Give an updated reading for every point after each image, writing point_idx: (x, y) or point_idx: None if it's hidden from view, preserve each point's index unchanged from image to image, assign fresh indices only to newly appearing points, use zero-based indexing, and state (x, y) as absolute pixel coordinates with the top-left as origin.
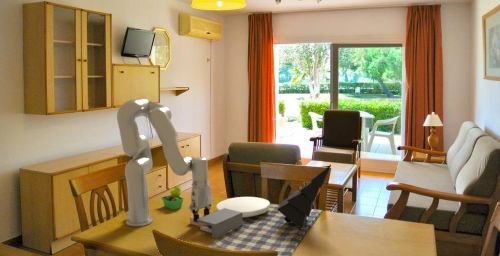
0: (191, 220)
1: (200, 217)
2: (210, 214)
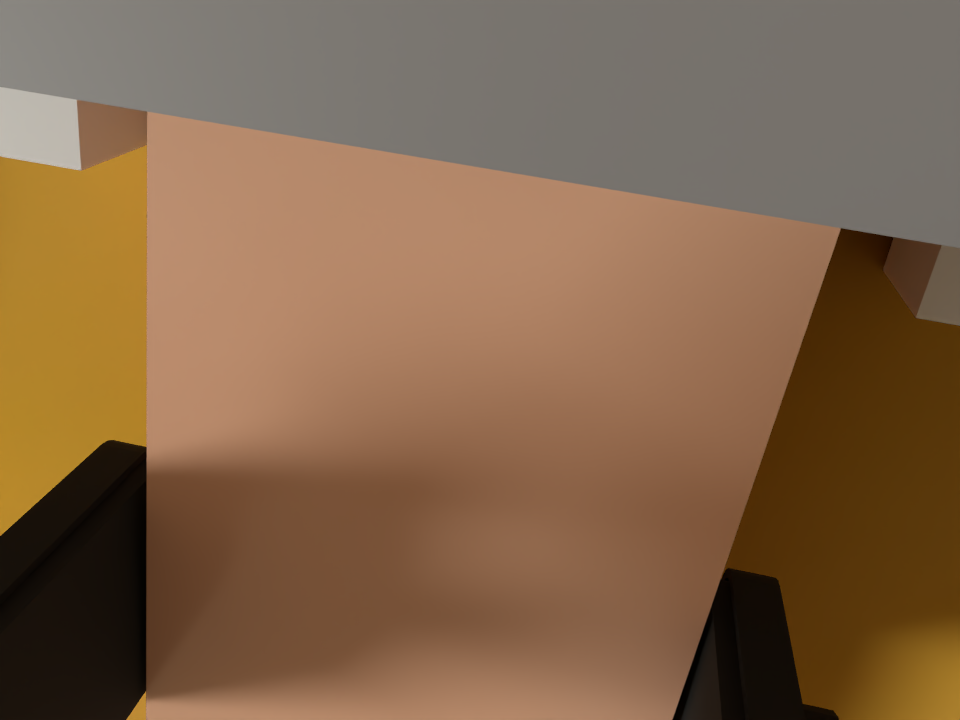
0: None
1: (405, 707)
2: (644, 36)
